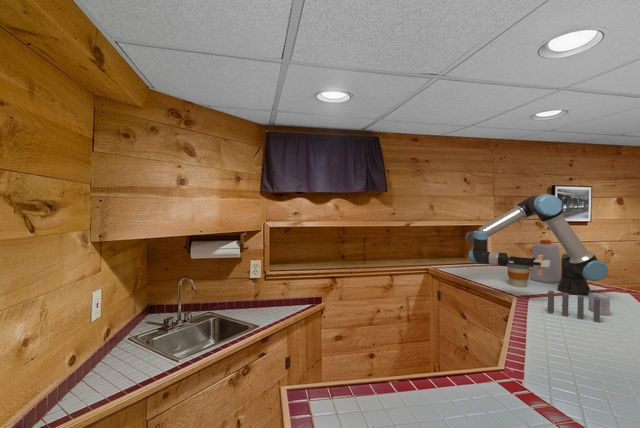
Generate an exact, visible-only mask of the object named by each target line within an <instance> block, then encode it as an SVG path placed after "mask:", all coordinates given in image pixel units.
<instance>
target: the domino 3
mask: <svg viewBox="0 0 640 428" xmlns="http://www.w3.org/2000/svg"><path fill="white" fill-rule="evenodd" d="M584 296H585V295H577V309H576V310H577V319H578V320H584V312H585V311H584V307H585V305H584V304H585V303H584V301H585V299H584V298H585V297H584Z"/></svg>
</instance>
